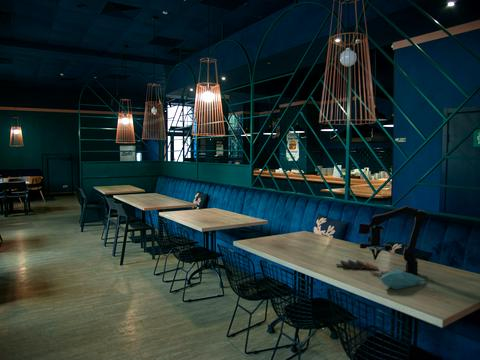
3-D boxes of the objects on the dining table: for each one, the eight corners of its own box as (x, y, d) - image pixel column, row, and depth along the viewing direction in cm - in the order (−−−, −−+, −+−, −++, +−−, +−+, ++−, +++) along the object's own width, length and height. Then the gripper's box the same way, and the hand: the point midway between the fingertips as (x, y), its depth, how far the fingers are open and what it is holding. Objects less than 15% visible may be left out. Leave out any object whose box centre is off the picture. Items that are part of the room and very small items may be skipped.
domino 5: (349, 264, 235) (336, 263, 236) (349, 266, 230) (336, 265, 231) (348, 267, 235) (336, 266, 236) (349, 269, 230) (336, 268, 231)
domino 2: (369, 265, 232) (357, 259, 233) (370, 267, 227) (358, 262, 228) (367, 267, 232) (356, 262, 233) (369, 269, 227) (357, 264, 228)
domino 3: (360, 264, 233) (348, 259, 233) (362, 266, 228) (350, 261, 228) (359, 266, 233) (347, 261, 233) (361, 269, 228) (349, 264, 228)
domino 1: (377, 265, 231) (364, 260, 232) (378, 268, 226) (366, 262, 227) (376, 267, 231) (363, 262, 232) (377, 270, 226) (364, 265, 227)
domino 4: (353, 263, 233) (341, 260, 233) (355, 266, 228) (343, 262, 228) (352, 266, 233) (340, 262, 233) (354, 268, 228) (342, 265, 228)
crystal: (427, 292, 204) (436, 278, 200) (381, 292, 190) (389, 277, 186) (415, 280, 212) (422, 267, 208) (370, 279, 198) (377, 265, 195)
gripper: (389, 233, 233) (388, 257, 234) (359, 231, 237) (358, 255, 238) (392, 237, 222) (391, 262, 223) (360, 235, 226) (359, 259, 227)
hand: (374, 259), depth 228 cm, fingers closed
